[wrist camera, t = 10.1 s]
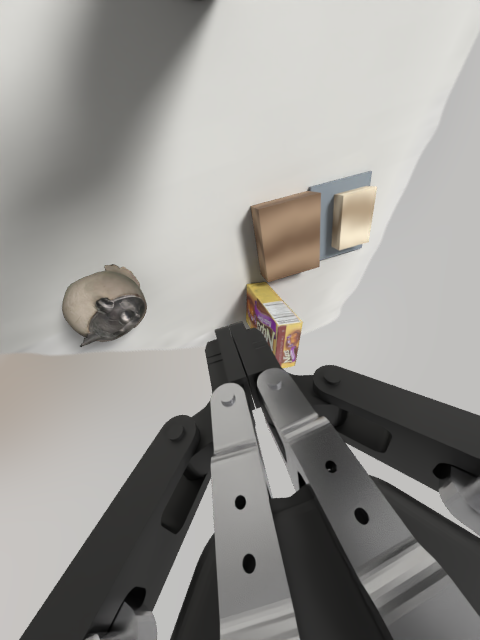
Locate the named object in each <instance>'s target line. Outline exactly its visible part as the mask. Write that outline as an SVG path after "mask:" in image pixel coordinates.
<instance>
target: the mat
mask: <svg viewBox="0 0 480 640" xmlns="http://www.w3.org/2000/svg"><path fill="white" fill-rule="evenodd" d="M371 174H372V171H369V172H365V173H361V174H357V175H353V176H350V177H346V178H342V179H338V180H334V181H331V182H327V183H323V184H319V185H315V186H312V187H309V191H312V192H320V193H321V215H320V260H323V259H326V258H329V257H333V256H336V255H339V254H343V253H346V252H349V251H353V250H356V249H359V248H362V244H360V245H357V246H353V247H350V248H346V249H343V250H337V249H335V248H333V247H331V243H332V226H333V208H334V194H338V193H341V192H345V191H349V190H353V189H357V188H360V187H364V186H370V182H371Z"/></svg>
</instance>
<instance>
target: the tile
mask: <svg viewBox="0 0 480 640" xmlns="http://www.w3.org/2000/svg"><path fill="white" fill-rule="evenodd" d="M376 190H377V187H374V186H364V187H360V188H357V189H353V190H349V191H345V192H341V193H338V194H334V208H333V226H332V243H331V247H333V248H335V249H337V250H343V249H346V248H350V247H353V246H357V245H360V244H363V243H367V242H369V236H370V229H371V223H372V216H373V210H374V203H375V197H376Z"/></svg>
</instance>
